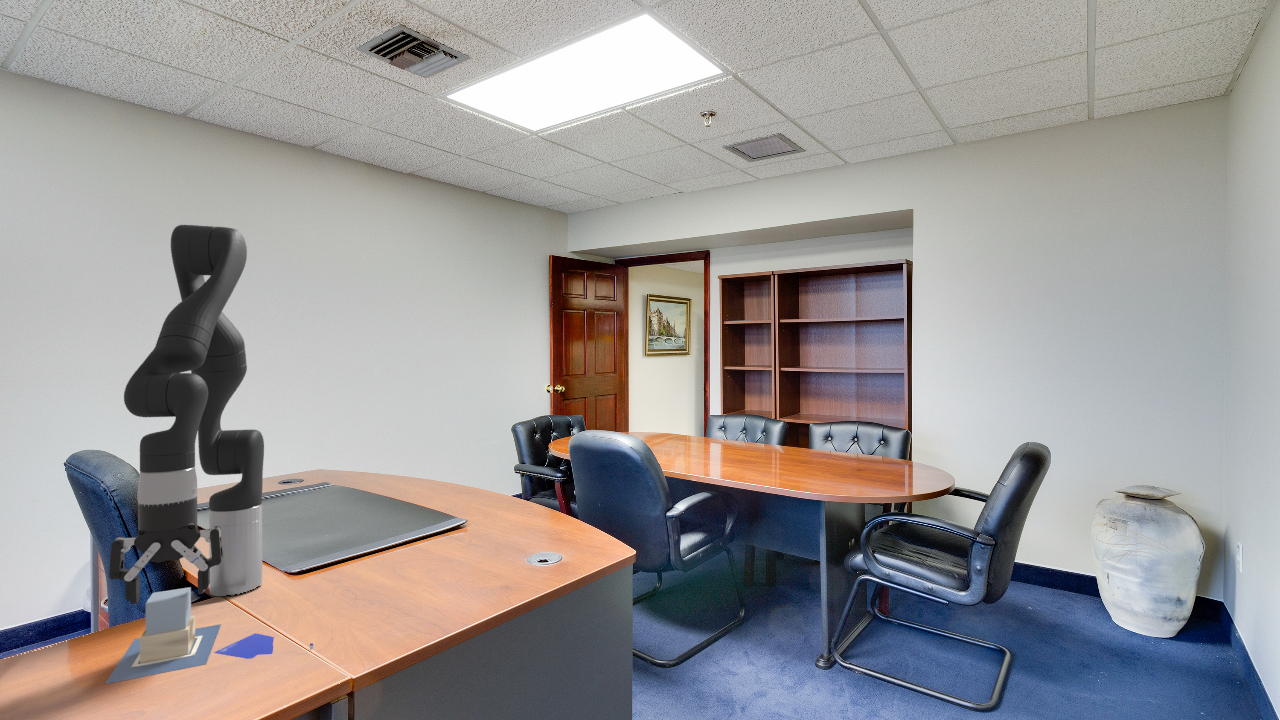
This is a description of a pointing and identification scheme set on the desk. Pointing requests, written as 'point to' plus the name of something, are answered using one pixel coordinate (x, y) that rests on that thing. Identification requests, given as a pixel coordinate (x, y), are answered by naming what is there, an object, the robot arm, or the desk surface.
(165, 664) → the board
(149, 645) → the maple base block
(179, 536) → the robot arm
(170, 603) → the slate block
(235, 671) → the desk surface
